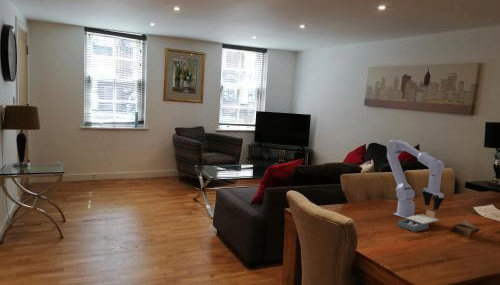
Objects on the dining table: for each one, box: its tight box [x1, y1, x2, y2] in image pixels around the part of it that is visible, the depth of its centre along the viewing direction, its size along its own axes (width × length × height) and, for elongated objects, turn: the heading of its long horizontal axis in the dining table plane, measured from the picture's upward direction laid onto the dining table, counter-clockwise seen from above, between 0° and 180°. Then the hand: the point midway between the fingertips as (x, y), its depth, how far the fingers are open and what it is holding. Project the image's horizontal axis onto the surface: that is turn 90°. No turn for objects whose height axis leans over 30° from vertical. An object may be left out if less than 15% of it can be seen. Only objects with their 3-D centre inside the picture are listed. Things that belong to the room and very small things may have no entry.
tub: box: [397, 218, 430, 233], centre depth 187 cm, size 13×9×3 cm
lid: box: [405, 209, 440, 224], centre depth 191 cm, size 15×10×5 cm, turn 122°
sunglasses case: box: [451, 219, 479, 237], centre depth 188 cm, size 18×7×7 cm, turn 135°
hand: (431, 207), depth 194 cm, fingers open, 7 cm apart
